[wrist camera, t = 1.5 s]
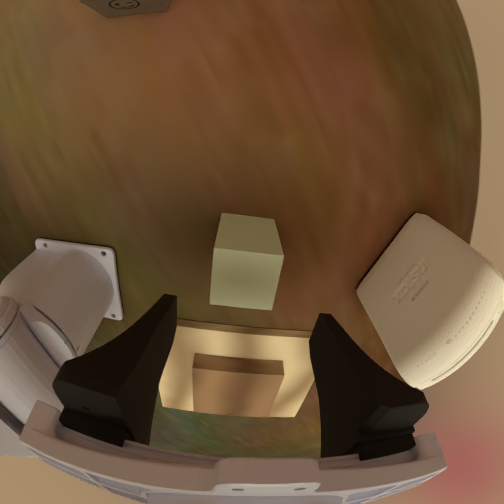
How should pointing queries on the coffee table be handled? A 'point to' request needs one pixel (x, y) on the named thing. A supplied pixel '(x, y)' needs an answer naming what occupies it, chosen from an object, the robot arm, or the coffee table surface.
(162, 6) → the dice cube
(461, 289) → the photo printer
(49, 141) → the coffee table surface
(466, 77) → the coffee table surface
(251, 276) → the sage block
